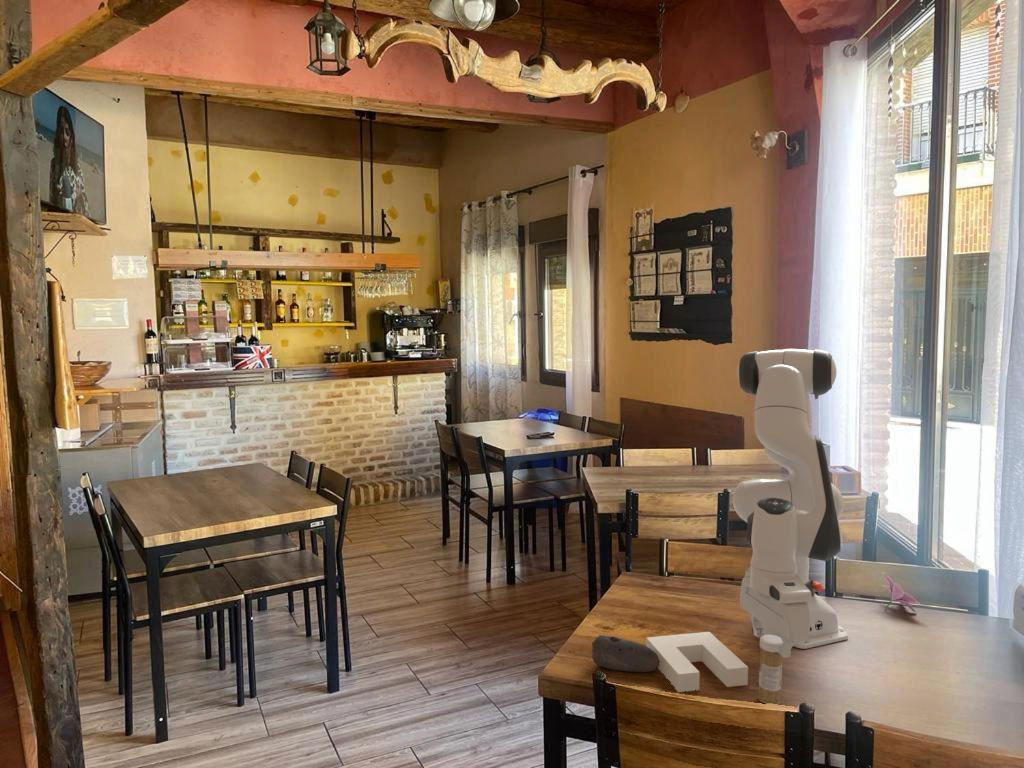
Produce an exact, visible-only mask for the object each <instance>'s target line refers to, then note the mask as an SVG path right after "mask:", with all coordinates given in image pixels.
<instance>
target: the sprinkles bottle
mask: <svg viewBox="0 0 1024 768" xmlns="http://www.w3.org/2000/svg"><path fill="white" fill-rule="evenodd" d="M782 643H783V641H782V640H781V638H780V637H778V636H775V635H763V636H761V637H760V638H759V650H760V655H759V656H760V657H759V671H758V672H759V673H758V697H757V698H758V701H759V702H760V703H761V702H763V703H773V704H779V705H781V703H782V699H781V695H782V694H781V691H782V679H783V657H782V656H780V655H779V654H778V652H779V650H778V647H779V646H782ZM763 703H762V704H763Z"/></svg>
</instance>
